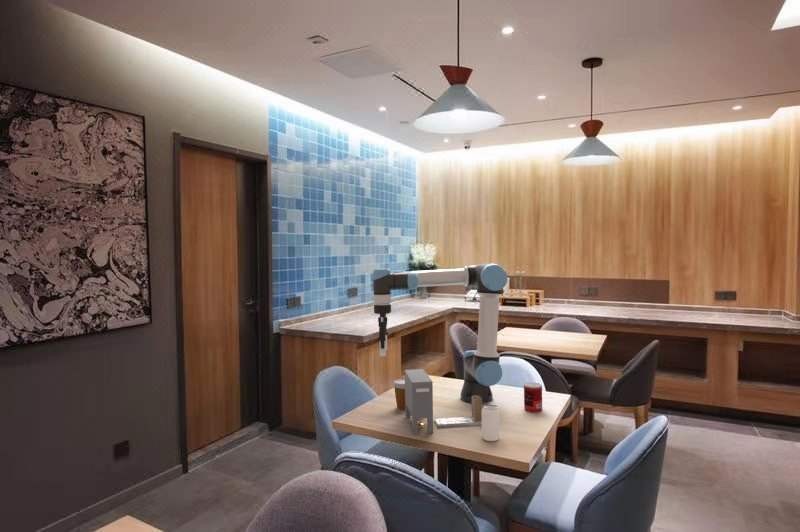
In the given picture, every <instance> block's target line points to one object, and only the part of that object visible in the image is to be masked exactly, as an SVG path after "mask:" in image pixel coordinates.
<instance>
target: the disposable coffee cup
mask: <svg viewBox="0 0 800 532" xmlns="http://www.w3.org/2000/svg"><path fill="white" fill-rule="evenodd" d="M392 385H393V387H394V395H395V401H396V408H397V410H401V411H402V410H403V411H405V378H400V379H395V380H394V382H393V383H392Z"/></svg>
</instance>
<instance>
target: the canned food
mask: <svg viewBox="0 0 800 532" xmlns="http://www.w3.org/2000/svg"><path fill="white" fill-rule="evenodd" d="M523 396H524V397H523V406H524V410H525V411H527V412H530V413H531V412H532V413H539V412H541V411H542V410H543V385H542V383H538V382H533V381H532V382H525V383H524V384H523Z"/></svg>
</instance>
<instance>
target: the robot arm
mask: <svg viewBox="0 0 800 532" xmlns="http://www.w3.org/2000/svg"><path fill="white" fill-rule="evenodd" d="M372 272H373V273H372V274H373V276H372V285H373V290H372V291H373V296H372V299H373V303H374V305H373V313H374V315H375V314H376V315H379V317H378V318H377V323H378V328H379V329H378V332H379V333H378V337H379V338H377V342H378V344H379V357H387V351H388V336H389V332H388V328H387V326H388V316H387V314H390V313H392V305H391V304H392V293H391V291H396V290H397V291H398V290H399V291H402V290H403V291H404V290H406V291H407V290H409V291H410V290H416V289H418V288H422V287H437V286H438V287H441V286H444V287H445V286H461V285H463V286H464V287H476V294H477V295H478V296H479V305H478V306H479V307H478V308H479V309H478V326H477V327H478V328H477V344H476V345H477V347H476V349H475V350H473V349H472V350H465V351H464V352H463V358H462V359H463V384H462V388H461V391H460V400H461V401H463V400H464V401H463V402H466V401H468V402H467V403H471V402H472V398H471V396H476V395H479V396H480V397H481V398H482V404H483V402H485V403H489V402H491V401H492V400H493V398H494V397H493V395H494V394H493V392H492V391H493V390H492V389H491V387H492V386H495V385H497V384H498V383H499V382H500V381H501V379H502V377H503V368H502V366H501V364H500V359H501V357H500V356H501V355H500V354H499V353H498V350H497V347H498V346H497V344H498V331H499V329H498V327H499V311H500V310H499V309H500V298H501V297H502V296H503V295H504V288H505V287H506V285H507V283H508V273H507V271H506V269H504V267H502V266H501V265H499V264H496V263H484V262H483V263H479V264H475V265H465V266H463V267H462V268H449V269H448V268H447V269H430V270H428V269H427V270H411V271H399V270H398V271H395V272H391V269H390V268H375V269H373V271H372ZM488 401H489V402H488Z"/></svg>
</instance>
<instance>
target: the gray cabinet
mask: <svg viewBox="0 0 800 532" xmlns="http://www.w3.org/2000/svg"><path fill="white" fill-rule="evenodd" d="M404 379H405V410H404V412H405V413H404V415H405V416H406V417H405V418H406V419H411V433H412V435H419V428H418V421H419V419H426V432H427V434H433V433H434V395H433V389H434V388H433V387H434V386H433V380H432V379H431V378H430V377H429V375H428V374H427V372H426V371H425V369H423V368H422V369H420V368H418V369H417V368H416V369H405V370H404Z"/></svg>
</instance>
